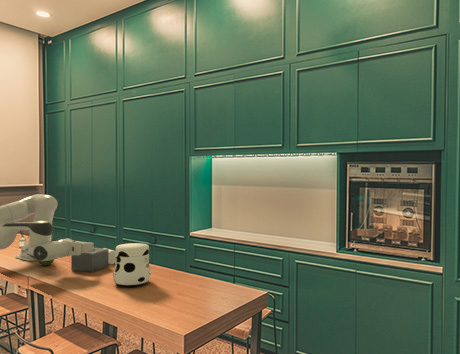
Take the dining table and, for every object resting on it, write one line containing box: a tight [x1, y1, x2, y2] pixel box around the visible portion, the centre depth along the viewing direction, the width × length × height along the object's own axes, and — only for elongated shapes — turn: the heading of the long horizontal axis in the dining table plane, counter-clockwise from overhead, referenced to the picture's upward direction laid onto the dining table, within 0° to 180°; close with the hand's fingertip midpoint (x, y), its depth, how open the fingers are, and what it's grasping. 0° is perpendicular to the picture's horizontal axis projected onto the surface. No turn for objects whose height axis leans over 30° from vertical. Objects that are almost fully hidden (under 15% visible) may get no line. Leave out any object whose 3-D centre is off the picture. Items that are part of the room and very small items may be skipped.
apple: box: [36, 259, 55, 266], centre depth 206 cm, size 11×10×10 cm
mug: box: [103, 247, 116, 265], centre depth 215 cm, size 12×10×8 cm
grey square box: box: [70, 247, 109, 273], centre depth 201 cm, size 14×13×10 cm
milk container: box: [112, 242, 152, 288], centre depth 174 cm, size 17×17×18 cm
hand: (85, 243), depth 197 cm, fingers open, 8 cm apart
